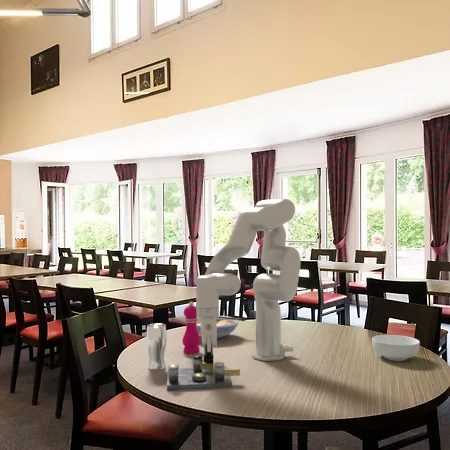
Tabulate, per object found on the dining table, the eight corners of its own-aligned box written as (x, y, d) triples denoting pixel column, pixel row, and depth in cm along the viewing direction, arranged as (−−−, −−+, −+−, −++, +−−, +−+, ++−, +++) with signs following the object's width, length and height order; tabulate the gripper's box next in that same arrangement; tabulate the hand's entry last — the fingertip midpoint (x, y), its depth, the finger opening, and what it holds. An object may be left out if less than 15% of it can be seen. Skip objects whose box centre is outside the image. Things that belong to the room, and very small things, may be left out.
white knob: (178, 381, 140) (178, 366, 140) (168, 382, 140) (168, 367, 140) (178, 373, 148) (178, 359, 148) (168, 373, 148) (168, 359, 148)
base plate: (226, 371, 156) (226, 361, 156) (232, 387, 140) (232, 377, 140) (167, 373, 154) (167, 364, 154) (167, 390, 138) (166, 380, 138)
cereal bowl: (426, 357, 170) (426, 338, 170) (409, 367, 158) (409, 347, 158) (383, 349, 182) (382, 331, 182) (364, 358, 170) (364, 339, 170)
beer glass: (150, 372, 155) (150, 328, 155) (144, 366, 162) (144, 324, 162) (169, 368, 159) (169, 326, 159) (162, 363, 165) (162, 322, 165)
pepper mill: (198, 355, 175) (197, 303, 175) (180, 354, 177) (179, 303, 177) (202, 350, 182) (202, 300, 182) (185, 349, 184) (185, 300, 184)
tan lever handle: (191, 370, 151) (191, 356, 151) (196, 367, 154) (195, 354, 154) (212, 374, 147) (212, 359, 147) (216, 371, 150) (216, 357, 150)
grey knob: (214, 379, 142) (214, 365, 142) (214, 376, 145) (214, 362, 145) (240, 378, 143) (240, 364, 143) (239, 375, 146) (238, 361, 146)
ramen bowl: (176, 338, 201) (176, 320, 201) (207, 328, 220) (207, 311, 220) (222, 346, 187) (222, 327, 187) (251, 335, 206) (250, 317, 206)
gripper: (220, 316, 145) (221, 373, 146) (217, 307, 160) (218, 359, 160) (197, 317, 145) (198, 374, 145) (196, 308, 160) (197, 359, 160)
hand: (208, 366), depth 153 cm, fingers closed
